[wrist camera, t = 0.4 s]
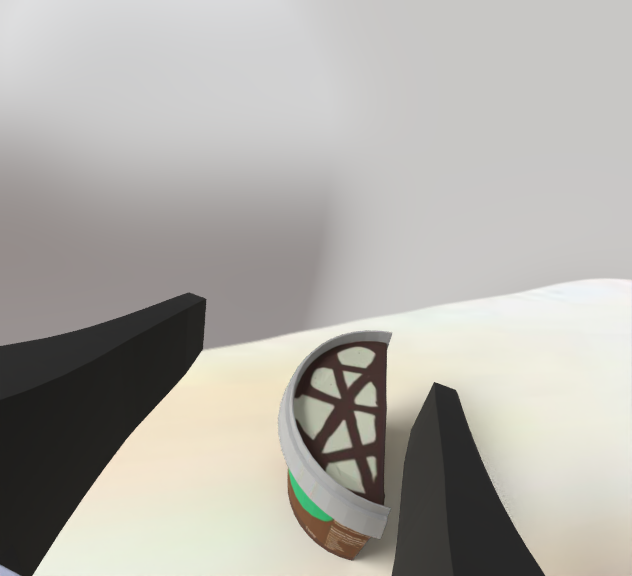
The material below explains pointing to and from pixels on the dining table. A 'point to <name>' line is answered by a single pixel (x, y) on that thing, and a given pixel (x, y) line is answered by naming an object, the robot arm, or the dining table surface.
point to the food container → (338, 441)
